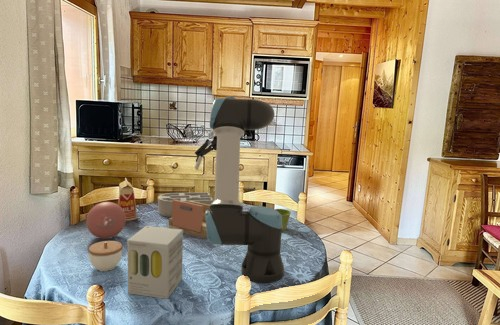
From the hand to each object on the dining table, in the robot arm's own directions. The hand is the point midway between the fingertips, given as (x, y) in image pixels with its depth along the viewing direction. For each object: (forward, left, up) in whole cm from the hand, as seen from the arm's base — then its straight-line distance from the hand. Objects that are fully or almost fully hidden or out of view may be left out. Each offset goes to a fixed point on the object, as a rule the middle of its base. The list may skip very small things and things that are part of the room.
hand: (208, 171), depth 167 cm
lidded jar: (-58, +3, -26) cm, 64 cm away
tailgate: (-17, 0, -24) cm, 30 cm away
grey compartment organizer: (+8, +20, -26) cm, 34 cm away
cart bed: (-9, 0, -26) cm, 28 cm away
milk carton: (-17, +37, -26) cm, 48 cm away
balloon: (-41, +23, -26) cm, 54 cm away
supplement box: (-58, -20, -26) cm, 67 cm away
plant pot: (+14, -33, -26) cm, 45 cm away
